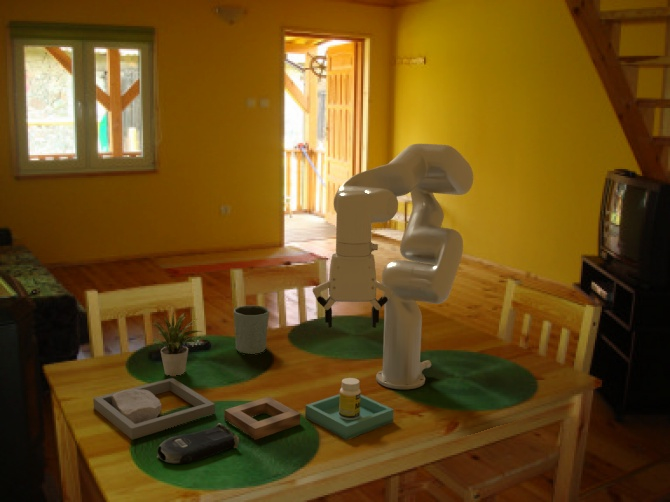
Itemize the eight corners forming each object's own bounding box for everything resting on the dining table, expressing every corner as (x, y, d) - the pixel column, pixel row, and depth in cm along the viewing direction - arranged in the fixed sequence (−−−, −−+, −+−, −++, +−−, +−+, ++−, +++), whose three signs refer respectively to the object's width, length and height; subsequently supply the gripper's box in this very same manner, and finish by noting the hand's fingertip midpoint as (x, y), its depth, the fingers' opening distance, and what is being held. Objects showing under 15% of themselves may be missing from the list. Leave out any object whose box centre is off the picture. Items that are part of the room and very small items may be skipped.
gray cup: (239, 343, 207) (239, 304, 205) (272, 345, 206) (272, 306, 203) (229, 354, 197) (229, 313, 195) (264, 357, 196) (264, 315, 194)
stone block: (149, 406, 167) (107, 407, 161) (153, 387, 166) (110, 387, 161) (165, 427, 157) (120, 429, 151) (169, 407, 156) (124, 408, 151)
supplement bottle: (358, 421, 154) (359, 386, 153) (337, 419, 155) (338, 384, 154) (361, 412, 159) (362, 378, 157) (341, 410, 160) (342, 376, 158)
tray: (351, 401, 167) (351, 390, 166) (393, 421, 157) (393, 409, 156) (305, 417, 158) (305, 405, 157) (346, 440, 148) (346, 426, 147)
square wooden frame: (268, 406, 163) (268, 396, 163) (300, 424, 154) (300, 413, 154) (224, 420, 156) (224, 409, 155) (255, 439, 147) (255, 428, 146)
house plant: (159, 389, 172) (157, 325, 169) (134, 372, 182) (131, 312, 179) (209, 375, 181) (208, 315, 178) (183, 360, 192) (181, 303, 188)
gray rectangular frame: (172, 387, 173) (172, 377, 173) (215, 414, 159) (214, 404, 158) (93, 408, 160) (93, 397, 160) (132, 439, 146) (131, 428, 145)
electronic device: (215, 439, 150) (149, 449, 141) (220, 416, 149) (154, 424, 140) (236, 462, 143) (168, 474, 134) (241, 438, 142) (173, 448, 133)
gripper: (391, 246, 154) (388, 320, 157) (312, 245, 153) (311, 320, 156) (395, 253, 146) (393, 331, 150) (313, 252, 145) (312, 331, 149)
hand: (351, 325), depth 153 cm, fingers open, 9 cm apart
